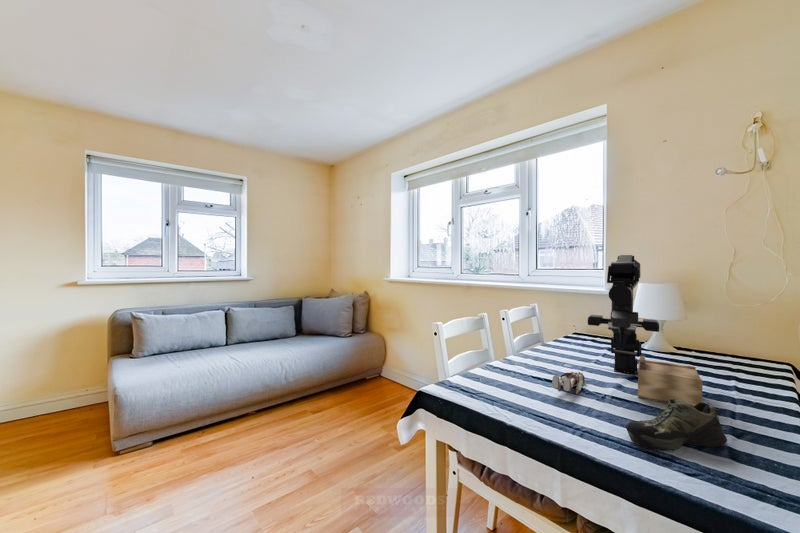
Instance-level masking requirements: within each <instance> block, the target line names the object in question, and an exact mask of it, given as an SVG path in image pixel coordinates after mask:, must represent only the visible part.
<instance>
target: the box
mask: <svg viewBox="0 0 800 533" xmlns="http://www.w3.org/2000/svg"><path fill="white" fill-rule="evenodd" d="M638 361H640V358H637V362H638ZM645 362H647V363H654V364H660V365H667V366H674V367H681V368H688V369H695V370H696V371H697V368H696V366H693V365H687V364H678V363H672V362H664V361H658V360H650V359H645ZM637 372H638V374H637V376H638V377H637V378H638V381H637V382H638V383H637V398H638V399H643V400H649V401H654V402H658V403H664V404H668V403H669V399H671V398H672V399H674V400H676V401H677V400H681V401H683V402H686V403H690V404H691V405H693V406H695V405H697V404H698V403H700V402H703V379H702V378H700V379H698V378H692V377H685V376H679V375H672V374H666V373H659V372H653V371H647V370H640V369H638V368H637Z"/></svg>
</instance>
